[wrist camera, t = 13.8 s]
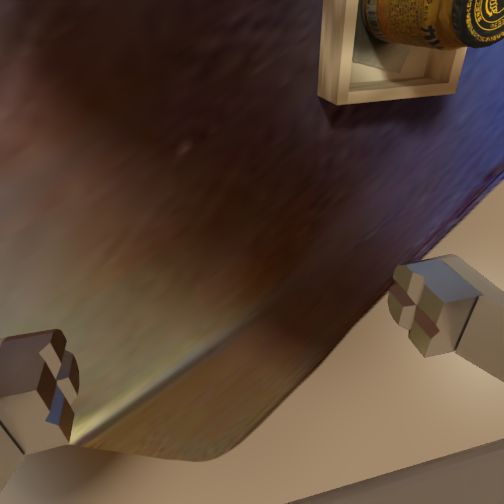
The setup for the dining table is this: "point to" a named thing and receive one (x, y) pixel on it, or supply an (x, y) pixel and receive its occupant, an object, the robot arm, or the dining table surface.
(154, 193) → the dining table surface
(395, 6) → the condiment
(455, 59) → the caddy
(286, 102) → the dining table surface
